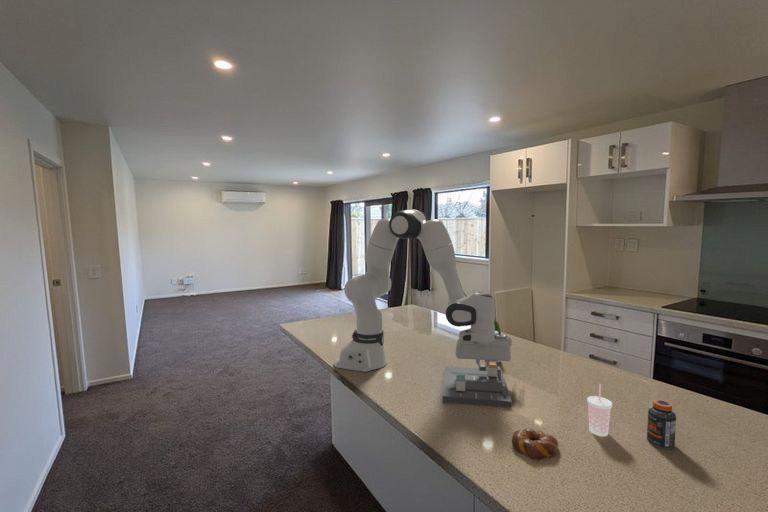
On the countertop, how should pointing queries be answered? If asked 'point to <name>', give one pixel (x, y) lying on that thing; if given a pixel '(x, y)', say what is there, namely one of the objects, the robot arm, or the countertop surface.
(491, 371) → the fader
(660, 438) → the pill bottle
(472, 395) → the console
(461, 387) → the fader
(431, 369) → the countertop surface
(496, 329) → the avocado
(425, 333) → the countertop surface
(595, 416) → the beverage cup
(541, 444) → the pretzel
